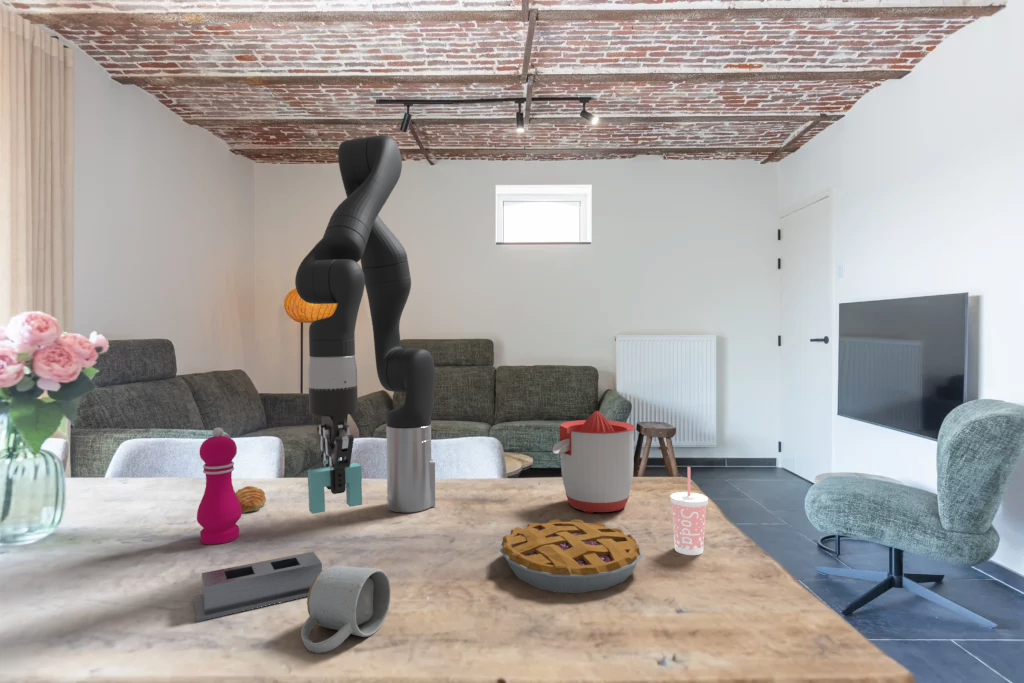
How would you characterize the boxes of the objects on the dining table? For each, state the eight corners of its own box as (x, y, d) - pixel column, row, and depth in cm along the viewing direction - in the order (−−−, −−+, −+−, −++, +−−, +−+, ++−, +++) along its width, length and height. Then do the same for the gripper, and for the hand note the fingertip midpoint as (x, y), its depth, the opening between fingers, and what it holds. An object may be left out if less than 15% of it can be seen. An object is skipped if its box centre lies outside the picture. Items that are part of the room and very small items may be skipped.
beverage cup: (664, 551, 100) (664, 468, 100) (678, 540, 105) (678, 461, 105) (700, 559, 97) (700, 473, 96) (713, 548, 101) (713, 466, 101)
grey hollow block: (319, 574, 92) (318, 548, 92) (330, 591, 86) (330, 563, 86) (193, 601, 83) (192, 572, 83) (196, 622, 77) (196, 591, 77)
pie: (545, 612, 80) (545, 575, 79) (478, 556, 99) (477, 526, 99) (671, 579, 90) (671, 546, 90) (588, 534, 109) (587, 507, 109)
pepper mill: (224, 547, 103) (222, 431, 103) (187, 544, 105) (185, 430, 104) (250, 532, 110) (248, 424, 110) (216, 530, 112) (214, 423, 111)
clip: (358, 501, 100) (356, 462, 100) (362, 504, 98) (361, 465, 98) (308, 510, 96) (307, 469, 96) (312, 514, 94) (311, 473, 94)
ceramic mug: (340, 608, 81) (339, 552, 80) (392, 619, 78) (391, 560, 77) (283, 649, 71) (281, 585, 70) (341, 663, 68) (339, 596, 67)
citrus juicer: (542, 499, 131) (541, 408, 130) (614, 492, 136) (614, 404, 135) (568, 521, 116) (568, 418, 115) (649, 513, 121) (649, 414, 120)
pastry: (269, 511, 124) (268, 493, 124) (233, 517, 121) (232, 498, 121) (263, 500, 132) (263, 483, 132) (229, 505, 129) (229, 487, 129)
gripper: (369, 386, 93) (372, 497, 93) (344, 379, 104) (346, 477, 105) (319, 389, 89) (322, 505, 89) (299, 382, 101) (302, 484, 101)
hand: (335, 490), depth 97 cm, fingers closed on clip, 2 cm apart
